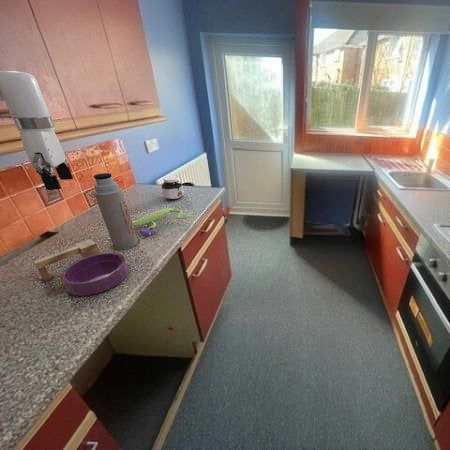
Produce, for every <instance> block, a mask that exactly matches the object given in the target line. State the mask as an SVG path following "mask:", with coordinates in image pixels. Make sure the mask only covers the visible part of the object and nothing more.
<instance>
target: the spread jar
mask: <svg viewBox="0 0 450 450" xmlns="http://www.w3.org/2000/svg"><path fill="white" fill-rule="evenodd" d="M161 192H162V195H163V197H164V198H165V199H166V200H168V201H178V200H181V199H182V198H183V197H184V194H185V191H184V185H183V183H182V182H181V181H179V179H178V176H173V175H171V176H166V177H163V183H162V184H161Z"/></svg>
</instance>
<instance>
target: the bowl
mask: <svg viewBox="0 0 450 450" xmlns="http://www.w3.org/2000/svg"><path fill="white" fill-rule="evenodd" d="M128 274H129V267H128V265H127V261H126V259H125V256H123V254H121V253H117V252H102V253H101V252H100V254H96V255H92V256H89V257H86V258H83V259H81V258H80V259H79V260H77V261H75V262H73V263H71V264H70V265H68V266H67V267H66V268H65V269H64V270H63V272H62V273H61V277H60V278H61V281H62V283H63V285H64V287H65V289H66V290H67V292H68V293H69V294H70V295H73V296H78V297H80V296H81V297H82V296H83V297H85V296H92V295H97V294H99V293H103V292H105V291H108V290H110V289H112V288H114V287H116V286H117V285H119V284H120V283H121V282H123V281H124V280H125V278H127V276H128Z"/></svg>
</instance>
